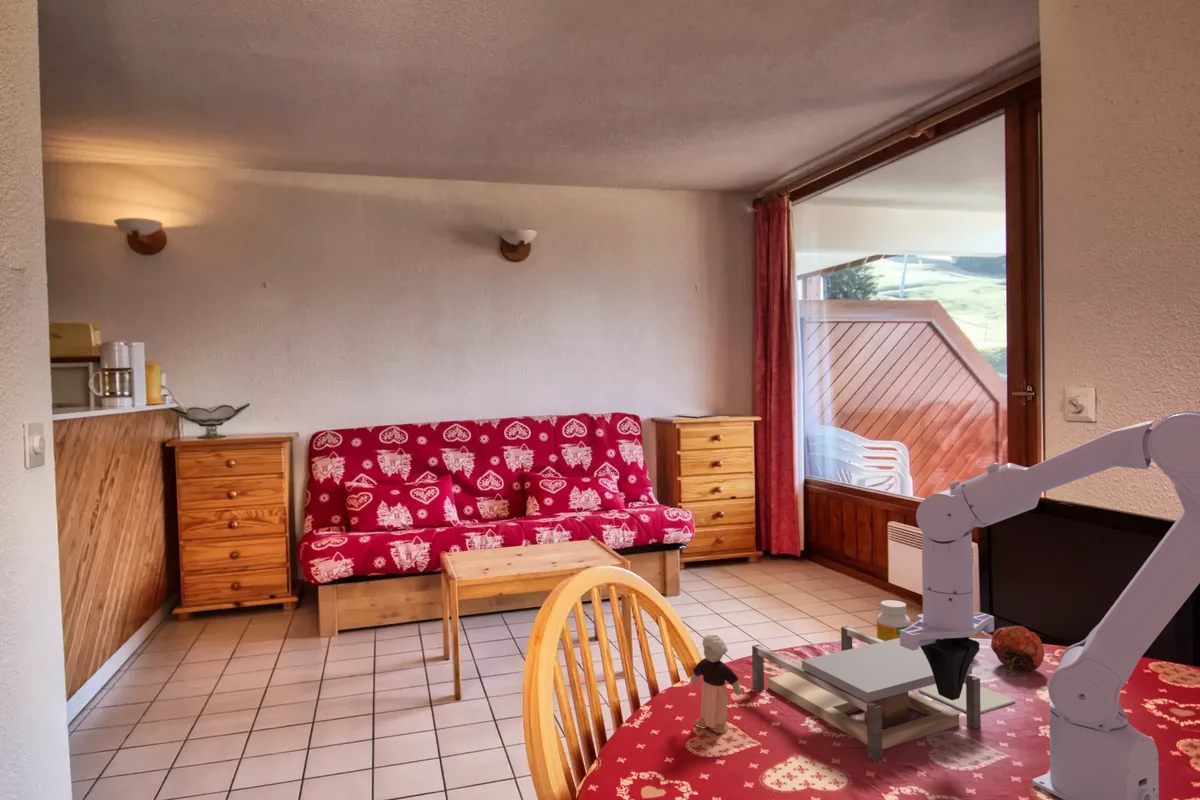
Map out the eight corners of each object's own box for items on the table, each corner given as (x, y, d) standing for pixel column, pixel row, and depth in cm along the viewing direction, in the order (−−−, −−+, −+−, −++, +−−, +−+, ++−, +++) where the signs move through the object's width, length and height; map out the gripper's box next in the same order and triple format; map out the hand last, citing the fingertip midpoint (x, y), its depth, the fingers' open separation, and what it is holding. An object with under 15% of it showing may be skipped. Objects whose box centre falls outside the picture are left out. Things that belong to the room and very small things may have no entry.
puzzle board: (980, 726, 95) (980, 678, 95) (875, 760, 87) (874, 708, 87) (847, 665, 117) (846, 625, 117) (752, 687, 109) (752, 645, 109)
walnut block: (908, 723, 97) (908, 691, 97) (887, 730, 95) (886, 697, 95) (885, 712, 100) (885, 680, 100) (864, 718, 99) (864, 686, 99)
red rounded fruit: (1039, 696, 109) (1062, 645, 114) (1018, 663, 108) (1042, 613, 112) (993, 684, 116) (1016, 637, 120) (972, 653, 114) (996, 606, 118)
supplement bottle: (890, 652, 123) (889, 596, 122) (918, 661, 118) (917, 604, 118) (870, 659, 120) (869, 602, 120) (899, 669, 115) (898, 610, 115)
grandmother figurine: (683, 728, 97) (682, 635, 96) (693, 716, 100) (692, 627, 100) (739, 740, 93) (737, 644, 93) (747, 727, 96) (745, 634, 96)
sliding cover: (972, 673, 96) (972, 664, 96) (867, 702, 88) (867, 692, 88) (900, 645, 107) (900, 637, 107) (801, 668, 99) (801, 660, 99)
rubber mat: (1015, 702, 102) (1015, 700, 102) (972, 715, 98) (972, 713, 98) (960, 679, 110) (960, 678, 110) (918, 691, 107) (918, 689, 107)
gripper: (959, 573, 95) (960, 674, 95) (879, 587, 89) (880, 695, 89) (1009, 586, 89) (1010, 694, 89) (927, 602, 82) (928, 718, 83)
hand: (948, 696), depth 89 cm, fingers closed
